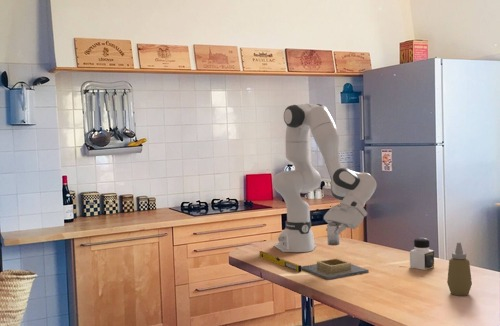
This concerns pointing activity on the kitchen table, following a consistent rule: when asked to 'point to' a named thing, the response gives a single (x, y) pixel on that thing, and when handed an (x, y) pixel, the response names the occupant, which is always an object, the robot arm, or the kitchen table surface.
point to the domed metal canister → (332, 233)
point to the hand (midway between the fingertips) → (331, 232)
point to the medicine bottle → (421, 255)
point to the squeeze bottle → (459, 273)
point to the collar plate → (334, 269)
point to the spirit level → (280, 261)
